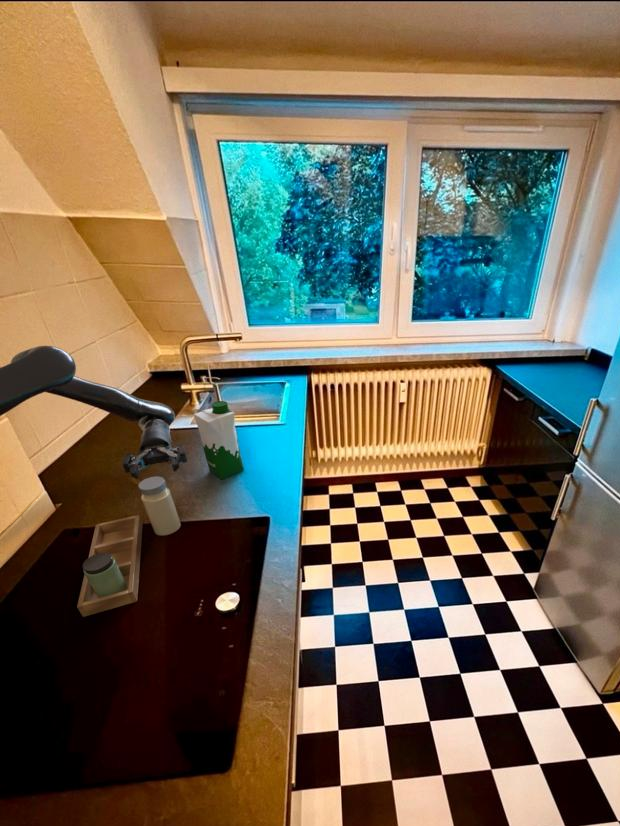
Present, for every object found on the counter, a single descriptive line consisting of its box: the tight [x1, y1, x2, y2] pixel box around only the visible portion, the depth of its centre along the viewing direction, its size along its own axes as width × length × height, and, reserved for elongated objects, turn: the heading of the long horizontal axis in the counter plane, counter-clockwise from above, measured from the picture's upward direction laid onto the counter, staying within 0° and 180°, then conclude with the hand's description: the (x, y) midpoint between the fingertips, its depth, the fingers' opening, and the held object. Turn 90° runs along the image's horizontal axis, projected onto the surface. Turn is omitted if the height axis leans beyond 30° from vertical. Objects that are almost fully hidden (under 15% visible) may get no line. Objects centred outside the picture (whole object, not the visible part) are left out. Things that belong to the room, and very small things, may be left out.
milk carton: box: [193, 400, 245, 480], centre depth 107 cm, size 9×9×20 cm
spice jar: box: [82, 553, 127, 598], centre depth 72 cm, size 5×5×8 cm
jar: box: [138, 476, 182, 536], centre depth 87 cm, size 6×6×13 cm
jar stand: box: [76, 514, 143, 618], centre depth 80 cm, size 9×25×3 cm, turn 23°
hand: (155, 472), depth 93 cm, fingers open, 8 cm apart
